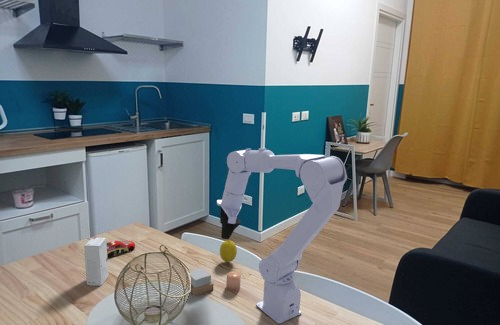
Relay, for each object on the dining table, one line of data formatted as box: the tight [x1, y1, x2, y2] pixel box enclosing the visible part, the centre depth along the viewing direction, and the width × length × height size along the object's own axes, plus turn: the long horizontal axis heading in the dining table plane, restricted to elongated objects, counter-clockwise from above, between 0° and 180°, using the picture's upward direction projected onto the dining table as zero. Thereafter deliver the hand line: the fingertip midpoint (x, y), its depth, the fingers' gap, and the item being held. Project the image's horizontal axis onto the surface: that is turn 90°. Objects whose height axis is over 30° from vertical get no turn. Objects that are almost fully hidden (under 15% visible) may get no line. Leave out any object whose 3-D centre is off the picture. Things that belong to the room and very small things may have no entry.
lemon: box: [219, 239, 238, 264], centre depth 120 cm, size 6×6×8 cm
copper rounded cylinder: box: [225, 271, 242, 292], centre depth 105 cm, size 4×4×4 cm
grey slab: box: [189, 267, 212, 288], centre depth 104 cm, size 5×5×2 cm
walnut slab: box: [190, 281, 215, 297], centre depth 105 cm, size 6×6×2 cm
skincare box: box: [83, 237, 109, 287], centre depth 105 cm, size 6×4×12 cm
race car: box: [106, 240, 136, 259], centre depth 124 cm, size 13×5×4 cm, turn 134°
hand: (224, 230), depth 107 cm, fingers open, 7 cm apart
